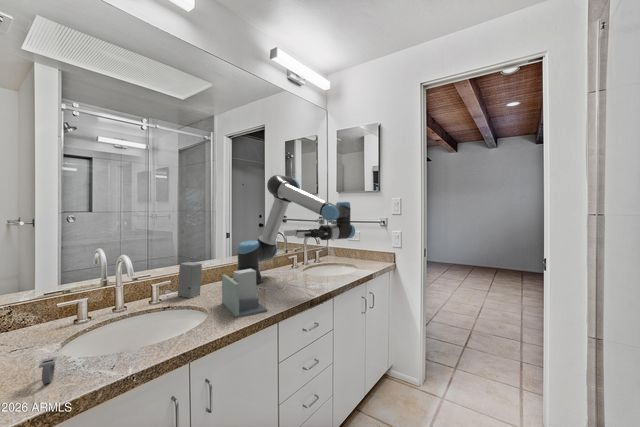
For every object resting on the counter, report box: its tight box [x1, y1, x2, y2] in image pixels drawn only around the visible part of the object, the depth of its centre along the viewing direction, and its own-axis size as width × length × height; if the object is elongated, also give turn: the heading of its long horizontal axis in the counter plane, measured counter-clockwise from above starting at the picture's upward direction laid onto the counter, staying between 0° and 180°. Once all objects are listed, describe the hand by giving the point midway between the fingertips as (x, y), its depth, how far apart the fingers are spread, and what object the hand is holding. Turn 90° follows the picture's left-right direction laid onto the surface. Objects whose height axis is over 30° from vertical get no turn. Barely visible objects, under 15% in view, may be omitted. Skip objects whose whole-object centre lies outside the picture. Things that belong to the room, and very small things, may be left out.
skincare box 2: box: [232, 269, 258, 301], centre depth 119 cm, size 8×6×15 cm
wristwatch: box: [38, 356, 58, 385], centre depth 67 cm, size 6×3×5 cm, turn 35°
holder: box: [221, 274, 268, 319], centre depth 119 cm, size 20×13×13 cm, turn 33°
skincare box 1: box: [177, 261, 203, 299], centre depth 136 cm, size 8×7×16 cm
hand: (290, 234), depth 131 cm, fingers open, 13 cm apart
